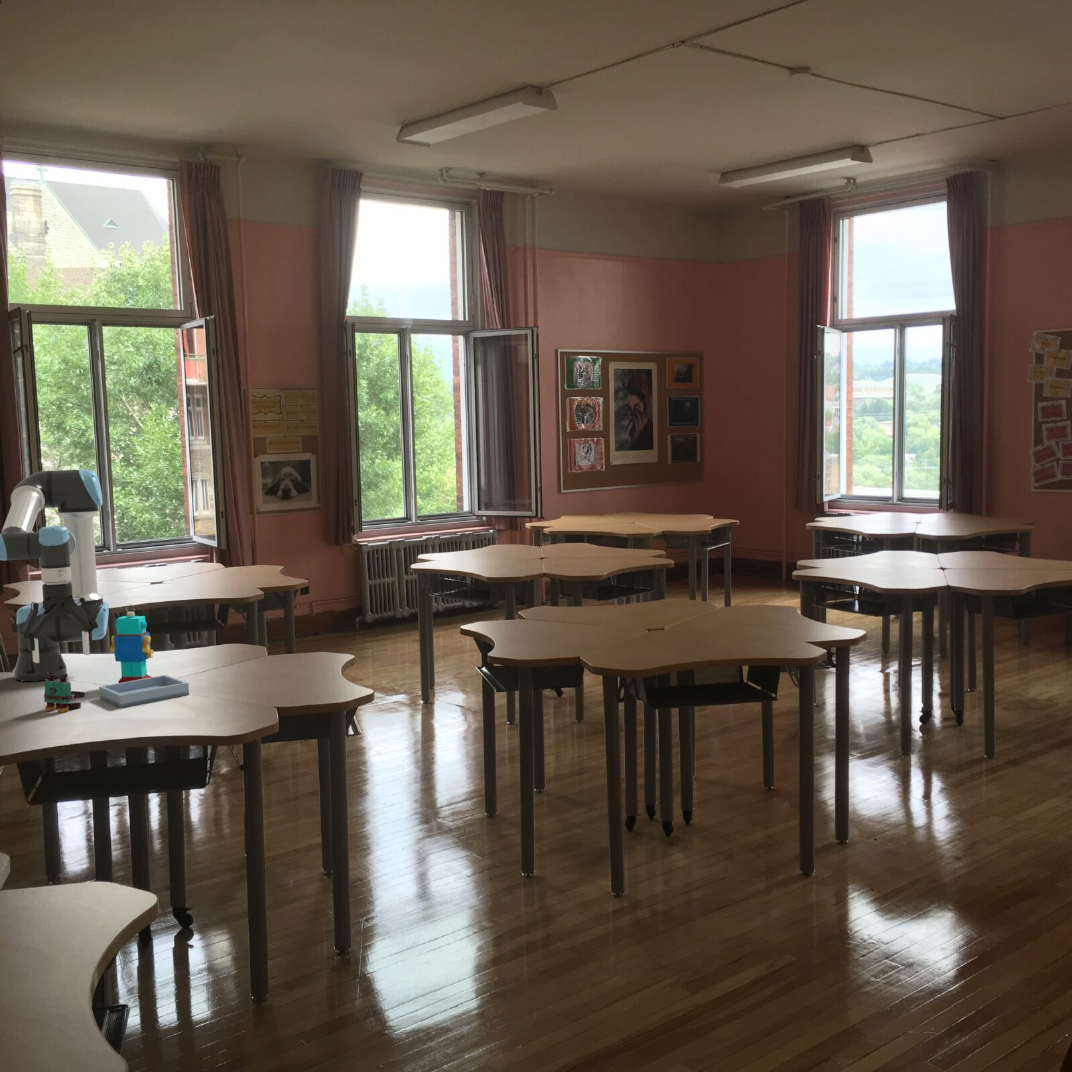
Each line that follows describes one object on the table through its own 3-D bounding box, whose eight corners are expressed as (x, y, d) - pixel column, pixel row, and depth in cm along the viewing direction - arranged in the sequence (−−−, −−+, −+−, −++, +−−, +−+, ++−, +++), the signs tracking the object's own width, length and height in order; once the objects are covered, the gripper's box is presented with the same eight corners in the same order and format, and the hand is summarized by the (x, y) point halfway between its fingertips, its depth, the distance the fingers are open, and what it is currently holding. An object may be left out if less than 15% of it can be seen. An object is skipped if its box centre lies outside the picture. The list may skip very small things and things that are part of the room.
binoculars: (90, 671, 305) (62, 675, 296) (89, 708, 305) (62, 713, 296) (66, 668, 308) (38, 673, 299) (65, 705, 308) (37, 711, 299)
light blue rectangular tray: (99, 698, 312) (99, 686, 312) (166, 686, 326) (165, 674, 326) (120, 707, 302) (120, 695, 301) (189, 694, 315) (188, 682, 315)
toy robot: (158, 682, 331) (153, 601, 328) (149, 687, 325) (144, 605, 322) (121, 682, 332) (116, 602, 329) (112, 687, 326) (107, 605, 323)
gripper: (13, 588, 288) (18, 667, 289) (107, 578, 304) (111, 653, 306) (4, 586, 293) (9, 663, 295) (97, 576, 310) (101, 649, 312)
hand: (61, 658), depth 301 cm, fingers open, 13 cm apart
